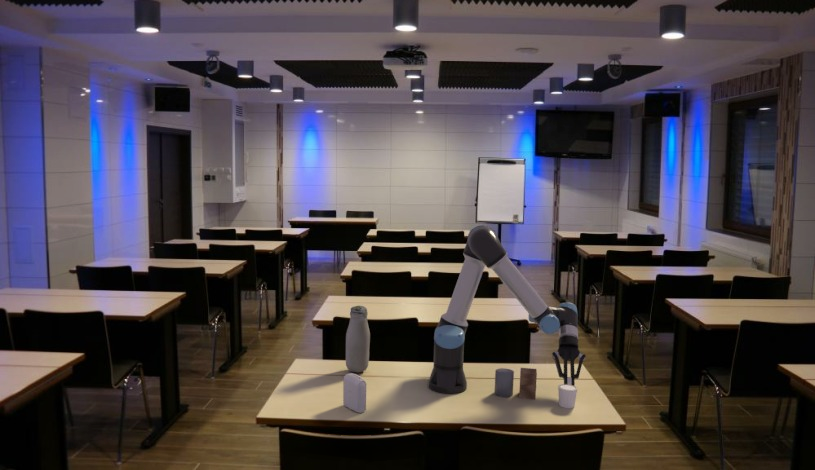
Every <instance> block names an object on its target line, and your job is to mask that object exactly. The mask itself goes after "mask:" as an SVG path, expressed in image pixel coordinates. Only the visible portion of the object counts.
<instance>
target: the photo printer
mask: <svg viewBox="0 0 815 470" xmlns="http://www.w3.org/2000/svg"><path fill="white" fill-rule="evenodd" d="M342 390H343V391H342V392H343V394H342V395H343V396H342V398H343V400H342V401H343V406H344V407H346V408H347V409H350V410H352V411H354V412H356V413H358V414H361V413H365V411H366V410H367V382H366V380H365V379H364V378H363V377H362V376H360V375H358V374H356V373H354V372H350V373H346V374H345V375H344V376H343V389H342Z"/></svg>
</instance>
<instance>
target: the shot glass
mask: <svg viewBox="0 0 815 470" xmlns="http://www.w3.org/2000/svg"><path fill="white" fill-rule="evenodd" d="M557 388H558V405H559V406H560V407H562V408H563V409H573V408H575V407H576V406H575V405H576V398H577V393H578V387H577V386H575V385H574V386H573V385H568V384H564V383H562V384H559V385H558V386H557Z"/></svg>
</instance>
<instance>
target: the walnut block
mask: <svg viewBox="0 0 815 470" xmlns="http://www.w3.org/2000/svg"><path fill="white" fill-rule="evenodd" d="M519 371H520V373H519V376H520V377H519V392H518V394H519V399H524V398H525V399H526V400H527V399H528V400H536V396H537V395H536V393H537V379H538V378H537V377H538V376H537V375H538V374H537V373H538V372H537V368H531V367H529V368H528V367H520V370H519Z"/></svg>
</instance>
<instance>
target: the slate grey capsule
mask: <svg viewBox="0 0 815 470" xmlns="http://www.w3.org/2000/svg"><path fill="white" fill-rule="evenodd" d="M514 375H515V371H514V370H513V369H510V368H503V367H501V368H497V369H495V375H494V395H495V396H497V397H500V398H511V397H513V394H514Z"/></svg>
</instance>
